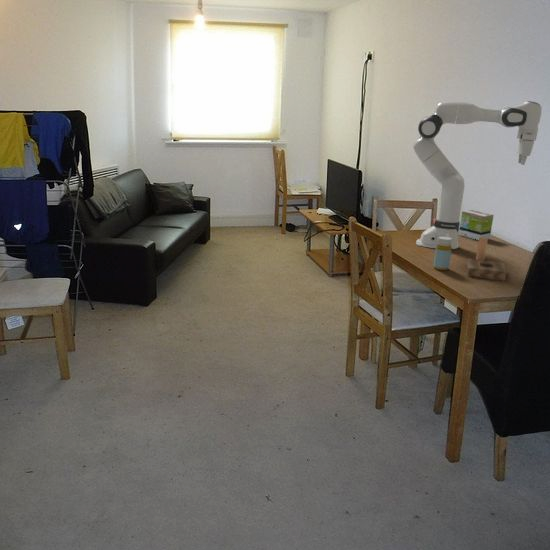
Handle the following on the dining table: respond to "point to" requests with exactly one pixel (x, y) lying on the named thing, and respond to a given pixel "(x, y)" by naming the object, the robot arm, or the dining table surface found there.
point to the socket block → (486, 269)
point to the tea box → (475, 224)
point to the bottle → (442, 253)
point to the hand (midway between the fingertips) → (521, 163)
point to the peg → (481, 248)
